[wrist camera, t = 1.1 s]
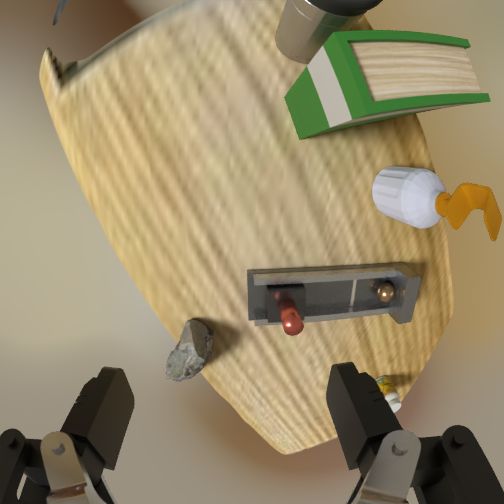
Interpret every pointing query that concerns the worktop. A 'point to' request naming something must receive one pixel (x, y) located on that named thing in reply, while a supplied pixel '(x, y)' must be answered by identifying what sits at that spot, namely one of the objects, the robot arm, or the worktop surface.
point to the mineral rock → (190, 352)
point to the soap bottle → (431, 199)
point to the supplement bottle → (389, 392)
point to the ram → (286, 306)
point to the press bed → (340, 291)
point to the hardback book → (380, 79)
